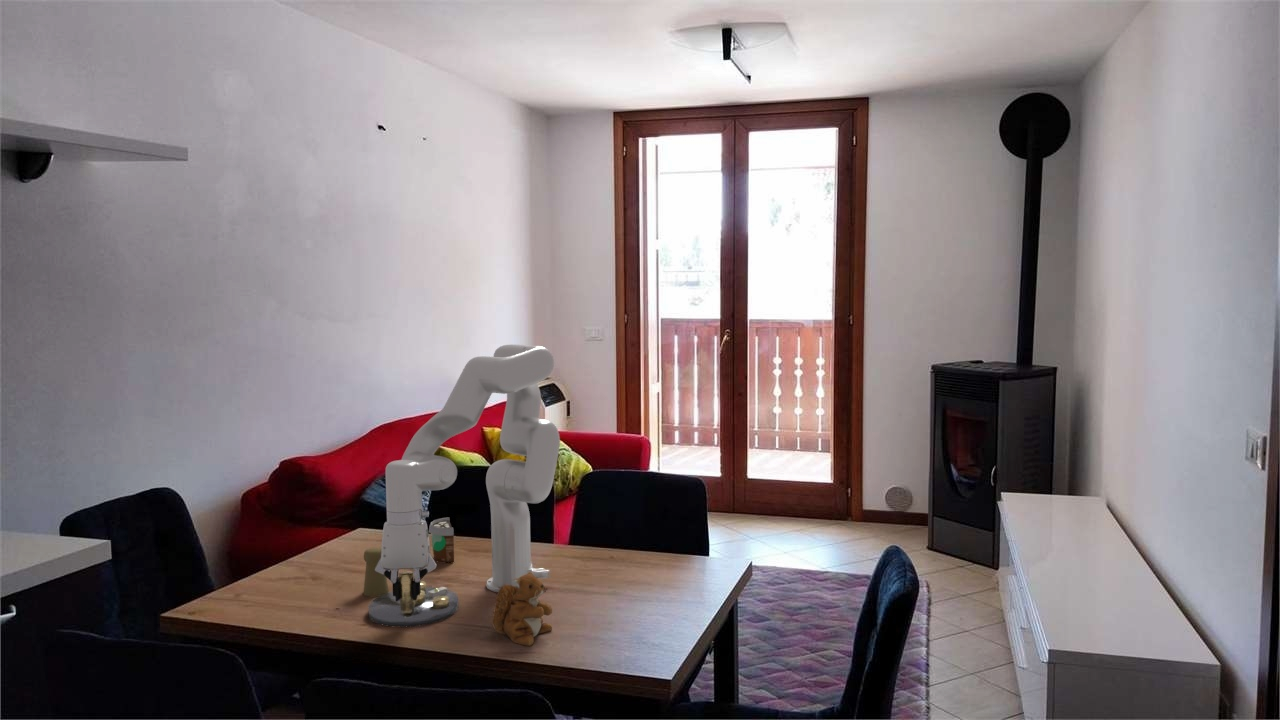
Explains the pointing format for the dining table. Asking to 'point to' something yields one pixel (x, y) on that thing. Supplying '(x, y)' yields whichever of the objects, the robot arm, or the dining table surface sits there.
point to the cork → (374, 574)
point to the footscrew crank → (408, 592)
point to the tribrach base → (432, 610)
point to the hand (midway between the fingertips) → (406, 597)
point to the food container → (442, 540)
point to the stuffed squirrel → (521, 610)
